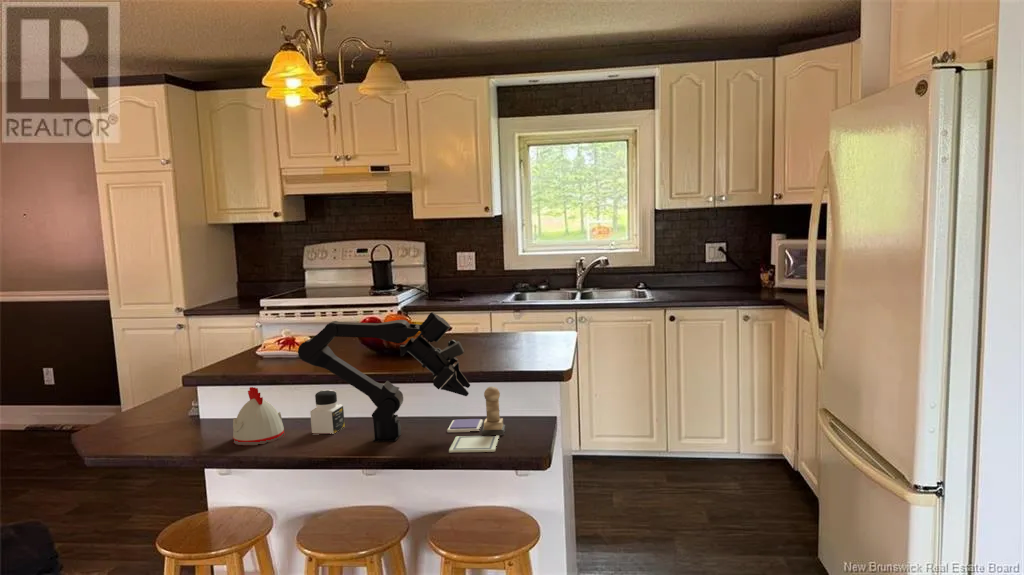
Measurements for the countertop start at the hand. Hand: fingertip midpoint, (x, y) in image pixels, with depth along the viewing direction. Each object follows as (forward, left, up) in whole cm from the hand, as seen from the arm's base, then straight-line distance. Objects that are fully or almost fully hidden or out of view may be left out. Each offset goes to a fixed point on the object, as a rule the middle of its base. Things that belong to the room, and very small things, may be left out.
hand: (468, 390), depth 181 cm
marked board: (+2, -9, -12) cm, 16 cm away
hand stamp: (+6, +1, -12) cm, 14 cm away
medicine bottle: (-44, +6, -13) cm, 46 cm away
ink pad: (-3, +6, -12) cm, 14 cm away
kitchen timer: (-63, +1, -13) cm, 64 cm away
